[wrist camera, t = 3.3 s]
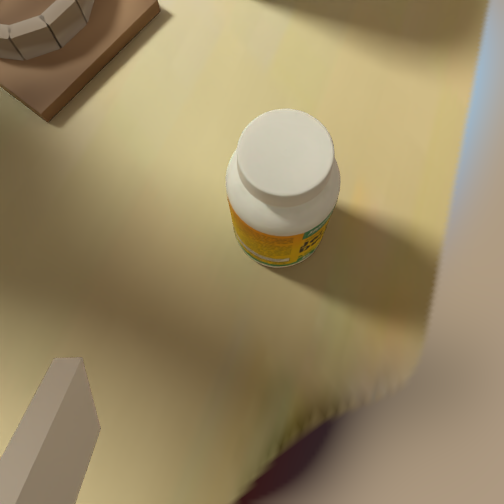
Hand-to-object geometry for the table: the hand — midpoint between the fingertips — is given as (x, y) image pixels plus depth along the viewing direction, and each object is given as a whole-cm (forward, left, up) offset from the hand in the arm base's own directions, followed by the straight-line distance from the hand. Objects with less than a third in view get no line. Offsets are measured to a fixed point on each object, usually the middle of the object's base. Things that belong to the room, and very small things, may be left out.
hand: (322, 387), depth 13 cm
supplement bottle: (-6, +7, -13) cm, 16 cm away
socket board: (-29, +9, -13) cm, 33 cm away
